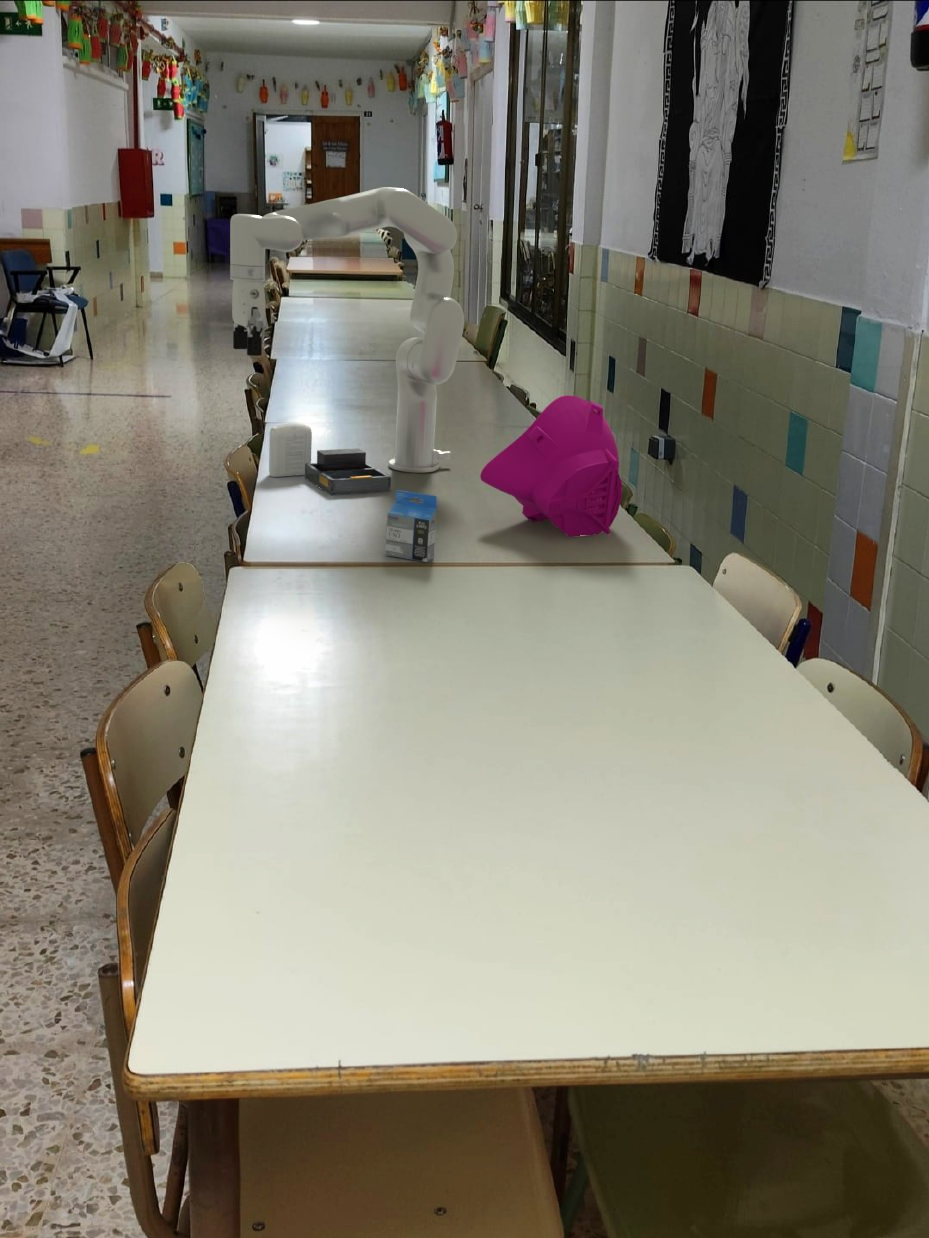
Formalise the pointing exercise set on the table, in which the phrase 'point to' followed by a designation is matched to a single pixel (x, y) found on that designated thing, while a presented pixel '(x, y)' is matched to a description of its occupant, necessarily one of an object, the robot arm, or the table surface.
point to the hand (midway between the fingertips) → (247, 352)
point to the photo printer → (289, 449)
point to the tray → (346, 473)
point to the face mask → (563, 468)
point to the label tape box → (411, 527)
